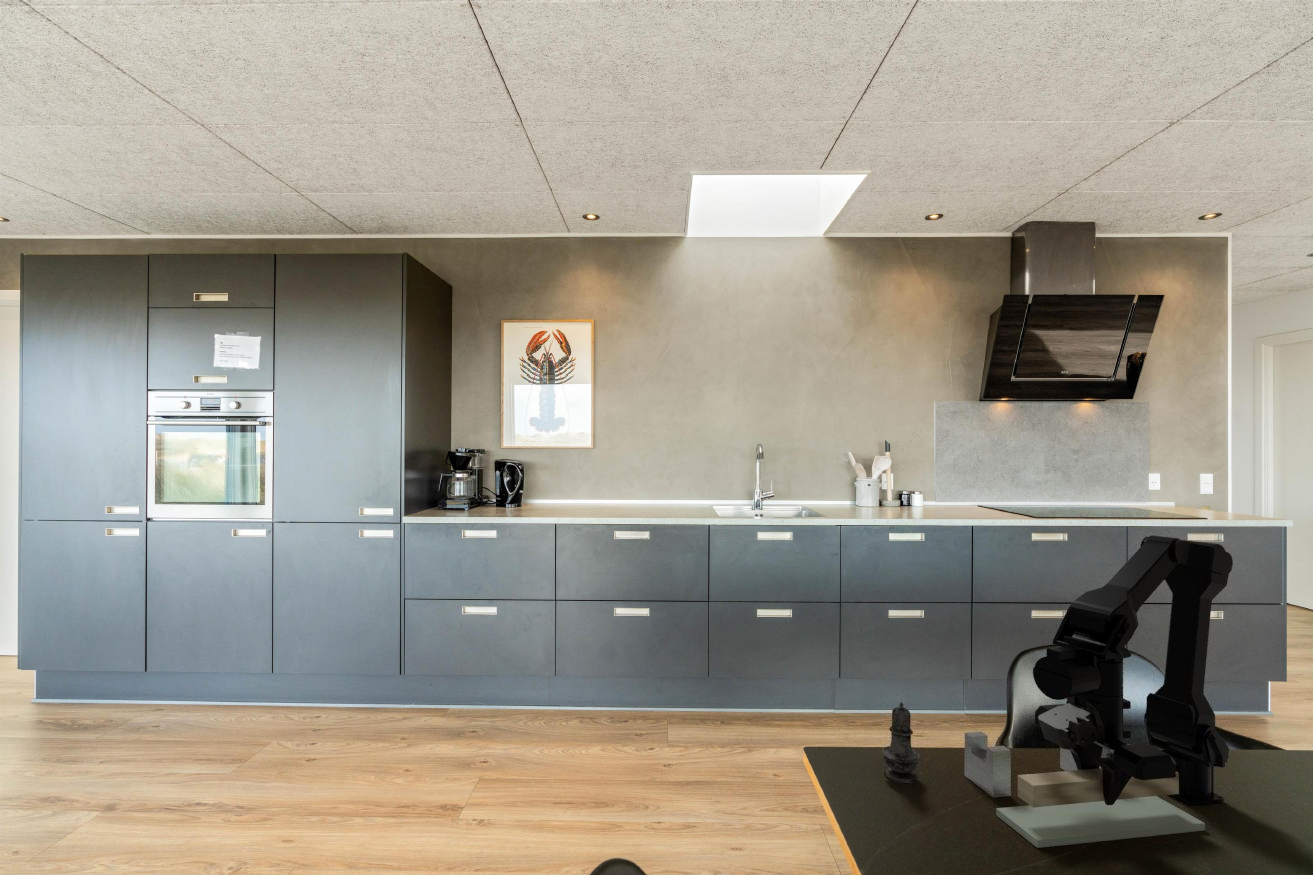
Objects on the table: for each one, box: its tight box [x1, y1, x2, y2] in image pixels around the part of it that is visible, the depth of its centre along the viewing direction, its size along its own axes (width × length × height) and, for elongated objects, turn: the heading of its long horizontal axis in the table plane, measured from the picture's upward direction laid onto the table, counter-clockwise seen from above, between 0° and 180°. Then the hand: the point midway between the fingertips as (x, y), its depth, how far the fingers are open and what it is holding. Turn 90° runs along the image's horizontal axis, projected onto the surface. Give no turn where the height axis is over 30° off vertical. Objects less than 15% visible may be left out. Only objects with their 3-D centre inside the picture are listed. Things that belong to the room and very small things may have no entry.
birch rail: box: [1017, 768, 1179, 808], centre depth 94 cm, size 24×3×3 cm, turn 100°
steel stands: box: [964, 731, 1107, 798], centre depth 106 cm, size 21×7×7 cm, turn 100°
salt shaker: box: [881, 701, 921, 784], centre depth 107 cm, size 6×6×12 cm
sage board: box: [995, 796, 1206, 849], centre depth 94 cm, size 27×8×1 cm, turn 100°
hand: (1099, 798), depth 94 cm, fingers closed on birch rail, 3 cm apart
